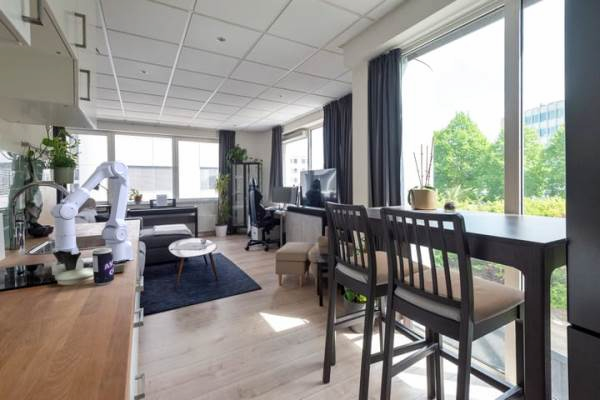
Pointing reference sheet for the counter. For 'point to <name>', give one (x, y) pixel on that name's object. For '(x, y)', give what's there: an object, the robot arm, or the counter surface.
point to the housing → (64, 266)
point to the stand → (75, 276)
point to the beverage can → (103, 265)
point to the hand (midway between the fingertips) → (68, 270)
